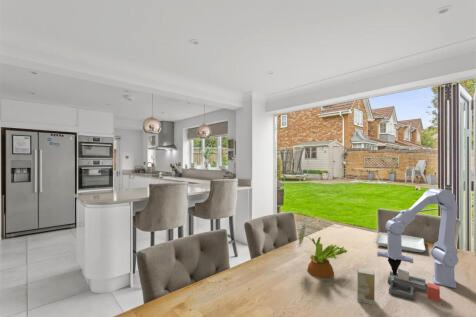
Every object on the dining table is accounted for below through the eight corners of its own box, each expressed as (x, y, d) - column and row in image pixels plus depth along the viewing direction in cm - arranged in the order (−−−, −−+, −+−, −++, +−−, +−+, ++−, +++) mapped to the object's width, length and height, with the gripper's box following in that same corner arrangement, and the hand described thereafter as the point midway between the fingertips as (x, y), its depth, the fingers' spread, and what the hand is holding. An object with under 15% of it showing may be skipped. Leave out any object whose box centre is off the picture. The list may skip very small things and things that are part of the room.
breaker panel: (390, 275, 125) (390, 270, 125) (425, 283, 116) (425, 278, 116) (387, 283, 117) (387, 277, 117) (424, 292, 108) (424, 286, 108)
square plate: (374, 247, 165) (374, 241, 165) (379, 236, 188) (379, 231, 188) (425, 255, 150) (425, 249, 150) (423, 243, 172) (423, 237, 172)
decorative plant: (303, 259, 145) (303, 216, 145) (349, 267, 135) (348, 220, 135) (292, 279, 121) (291, 228, 121) (346, 290, 111) (345, 234, 111)
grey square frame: (391, 285, 114) (391, 281, 115) (414, 291, 109) (414, 286, 109) (388, 293, 108) (388, 289, 108) (412, 300, 103) (412, 295, 103)
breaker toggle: (399, 276, 120) (398, 268, 120) (409, 278, 118) (408, 270, 118) (398, 279, 117) (397, 271, 117) (408, 282, 114) (408, 273, 114)
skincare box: (357, 301, 102) (357, 272, 102) (356, 296, 106) (356, 267, 106) (375, 305, 100) (375, 274, 100) (373, 299, 104) (373, 269, 104)
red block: (427, 294, 107) (427, 282, 107) (439, 297, 104) (439, 285, 104) (427, 298, 104) (427, 286, 104) (439, 301, 101) (439, 289, 101)
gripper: (375, 245, 121) (376, 273, 121) (412, 251, 112) (412, 282, 112) (378, 241, 126) (378, 268, 126) (413, 247, 117) (413, 276, 117)
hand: (395, 274), depth 119 cm, fingers closed
